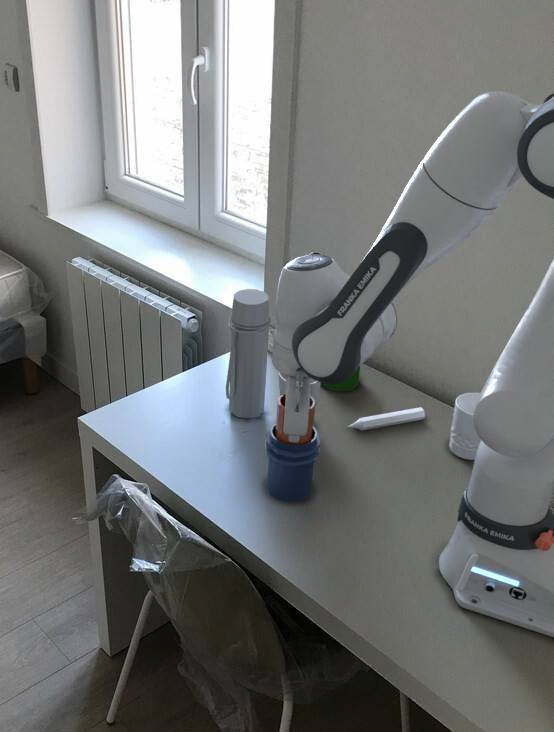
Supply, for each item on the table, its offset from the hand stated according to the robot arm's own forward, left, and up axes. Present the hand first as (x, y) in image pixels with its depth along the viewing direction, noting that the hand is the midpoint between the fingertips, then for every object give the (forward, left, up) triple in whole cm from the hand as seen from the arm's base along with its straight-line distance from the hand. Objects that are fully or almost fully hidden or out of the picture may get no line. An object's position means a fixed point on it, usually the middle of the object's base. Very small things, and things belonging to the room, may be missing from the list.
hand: (294, 426), depth 142 cm
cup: (+9, -17, -13) cm, 23 cm away
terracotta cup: (0, 0, -5) cm, 5 cm away
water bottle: (+20, -15, -13) cm, 28 cm away
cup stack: (0, 0, -13) cm, 13 cm away
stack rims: (0, 0, -5) cm, 5 cm away
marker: (-4, -28, -13) cm, 31 cm away
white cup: (-20, -30, -13) cm, 38 cm away
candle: (+11, -37, -13) cm, 41 cm away
